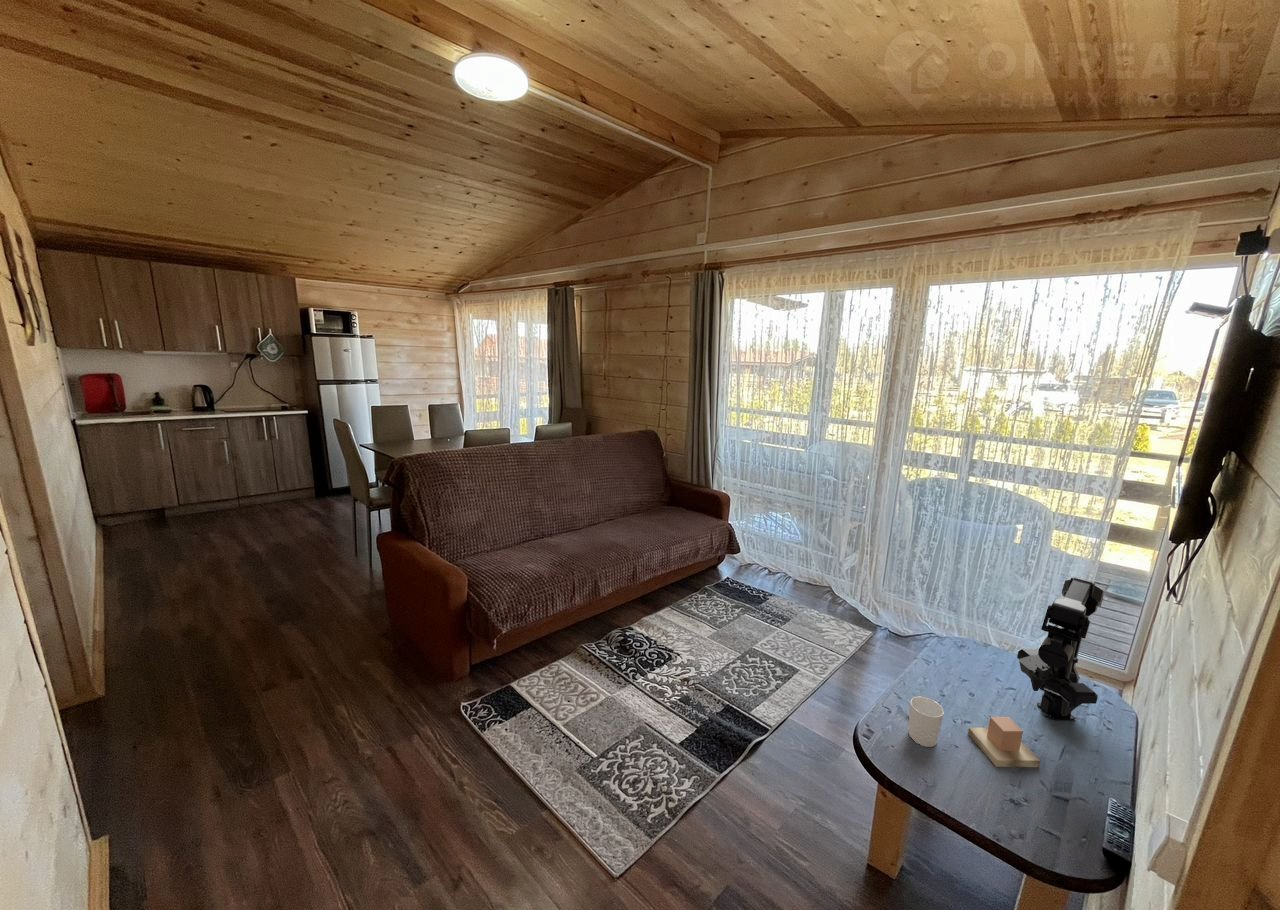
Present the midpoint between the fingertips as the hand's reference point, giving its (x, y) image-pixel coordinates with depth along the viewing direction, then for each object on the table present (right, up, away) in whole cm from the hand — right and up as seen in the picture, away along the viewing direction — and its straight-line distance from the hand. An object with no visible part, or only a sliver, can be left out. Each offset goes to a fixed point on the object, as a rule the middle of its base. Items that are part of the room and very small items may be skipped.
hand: (1049, 702), depth 128 cm
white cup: (-31, -12, +5) cm, 34 cm away
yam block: (-12, -11, 0) cm, 16 cm away
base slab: (-12, -13, +1) cm, 18 cm away
